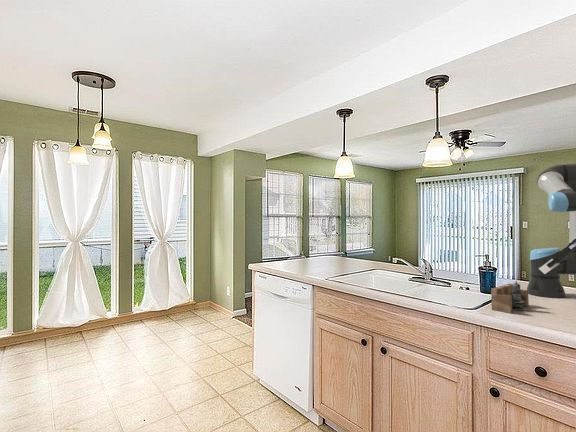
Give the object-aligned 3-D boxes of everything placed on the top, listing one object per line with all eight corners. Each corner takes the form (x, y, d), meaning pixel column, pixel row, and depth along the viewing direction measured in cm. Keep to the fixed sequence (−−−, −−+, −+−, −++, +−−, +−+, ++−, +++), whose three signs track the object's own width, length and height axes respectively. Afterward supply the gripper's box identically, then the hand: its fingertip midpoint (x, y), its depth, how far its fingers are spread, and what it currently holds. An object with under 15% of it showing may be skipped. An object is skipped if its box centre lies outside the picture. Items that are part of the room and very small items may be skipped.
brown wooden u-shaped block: (510, 303, 147) (510, 283, 147) (528, 306, 141) (528, 285, 141) (491, 309, 137) (491, 288, 137) (510, 313, 131) (509, 291, 132)
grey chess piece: (518, 307, 141) (517, 279, 141) (528, 310, 135) (528, 282, 135) (505, 307, 140) (504, 279, 141) (515, 311, 135) (514, 282, 135)
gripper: (602, 239, 110) (544, 280, 124) (612, 237, 117) (556, 276, 131) (581, 224, 114) (527, 265, 128) (592, 222, 121) (540, 262, 135)
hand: (542, 271), depth 130 cm, fingers closed
